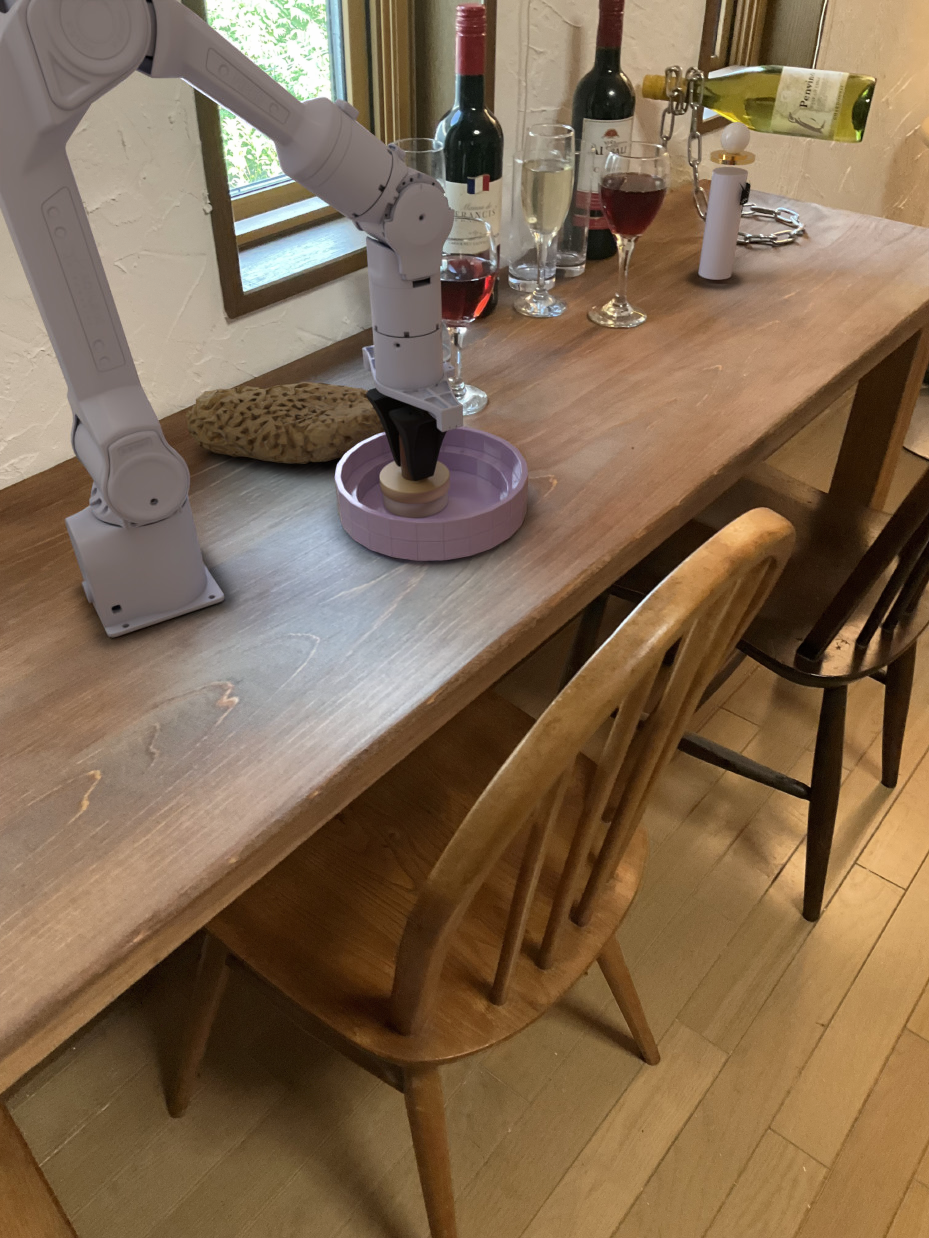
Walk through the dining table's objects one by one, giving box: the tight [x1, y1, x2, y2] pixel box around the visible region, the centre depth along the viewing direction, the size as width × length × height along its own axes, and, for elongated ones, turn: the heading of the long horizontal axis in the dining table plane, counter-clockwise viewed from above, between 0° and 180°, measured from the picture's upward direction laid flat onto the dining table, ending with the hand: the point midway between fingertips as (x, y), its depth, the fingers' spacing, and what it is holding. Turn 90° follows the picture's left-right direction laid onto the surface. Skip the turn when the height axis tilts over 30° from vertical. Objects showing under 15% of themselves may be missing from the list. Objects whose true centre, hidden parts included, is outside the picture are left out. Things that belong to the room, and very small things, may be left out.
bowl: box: [333, 425, 529, 562], centre depth 87 cm, size 17×17×4 cm
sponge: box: [185, 381, 385, 465], centre depth 96 cm, size 13×8×20 cm
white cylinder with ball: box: [697, 121, 756, 281], centre depth 128 cm, size 6×6×20 cm
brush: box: [380, 434, 450, 518], centre depth 87 cm, size 6×6×7 cm
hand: (414, 469), depth 87 cm, fingers closed on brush, 2 cm apart
